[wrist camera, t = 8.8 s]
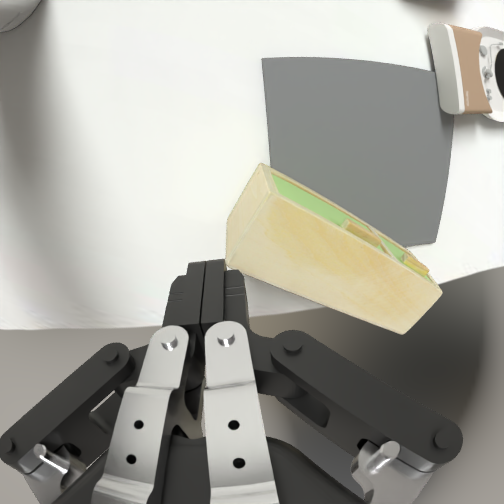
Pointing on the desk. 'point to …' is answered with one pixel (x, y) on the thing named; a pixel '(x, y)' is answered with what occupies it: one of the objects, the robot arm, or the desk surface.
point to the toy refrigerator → (325, 253)
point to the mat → (363, 139)
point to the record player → (469, 69)
